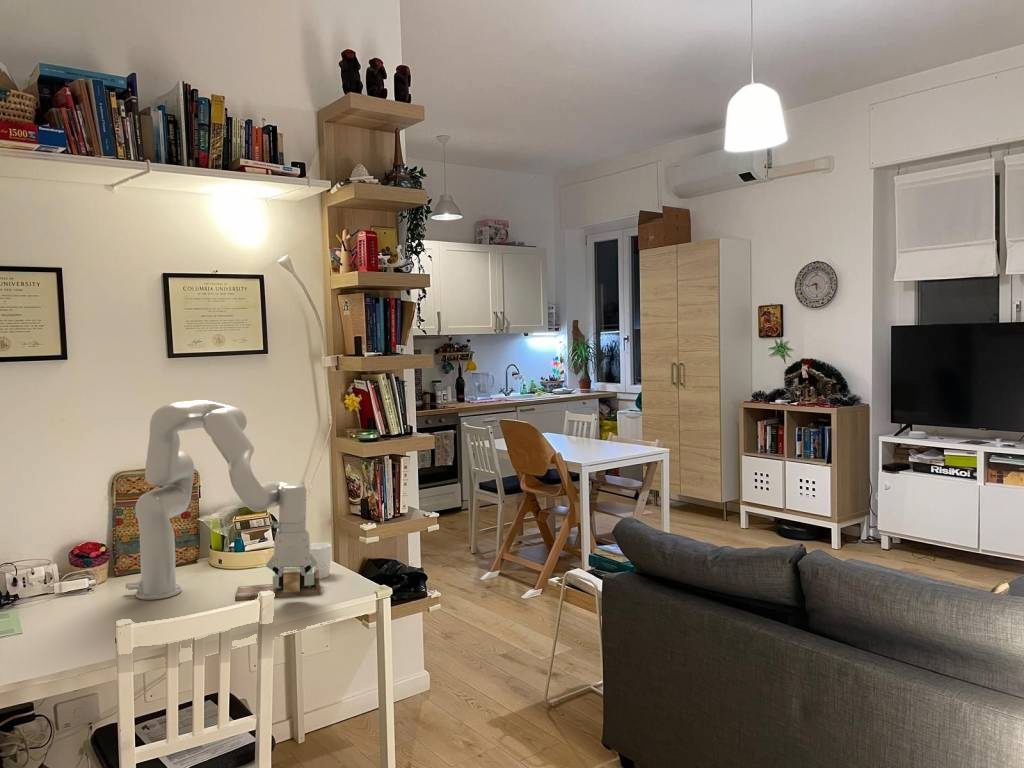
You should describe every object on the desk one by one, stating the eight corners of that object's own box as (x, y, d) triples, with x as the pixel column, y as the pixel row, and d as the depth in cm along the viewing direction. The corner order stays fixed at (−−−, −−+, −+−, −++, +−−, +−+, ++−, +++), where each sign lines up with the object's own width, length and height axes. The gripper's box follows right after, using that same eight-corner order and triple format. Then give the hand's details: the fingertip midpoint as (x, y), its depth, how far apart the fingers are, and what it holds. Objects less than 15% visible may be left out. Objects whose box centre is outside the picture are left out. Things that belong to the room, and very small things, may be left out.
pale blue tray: (272, 592, 230) (272, 576, 230) (274, 584, 238) (273, 568, 238) (314, 588, 233) (314, 573, 233) (314, 580, 241) (314, 565, 241)
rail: (235, 600, 227) (234, 584, 226) (238, 590, 236) (237, 574, 236) (319, 593, 233) (319, 578, 232) (319, 584, 242) (318, 569, 242)
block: (283, 592, 222) (283, 575, 222) (283, 587, 227) (284, 570, 226) (299, 591, 223) (299, 574, 223) (299, 586, 228) (299, 569, 228)
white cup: (325, 580, 246) (325, 549, 246) (302, 579, 248) (301, 548, 247) (335, 572, 254) (334, 542, 254) (312, 571, 256) (311, 542, 255)
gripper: (261, 530, 218) (260, 594, 219) (322, 528, 222) (321, 591, 224) (262, 524, 226) (262, 585, 227) (322, 522, 230) (321, 583, 231)
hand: (291, 587), depth 225 cm, fingers closed on block, 4 cm apart
